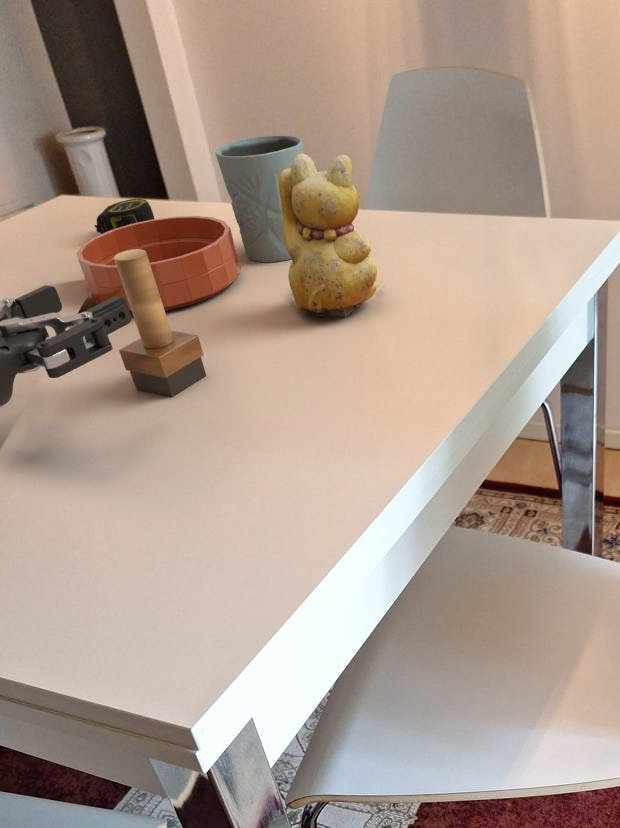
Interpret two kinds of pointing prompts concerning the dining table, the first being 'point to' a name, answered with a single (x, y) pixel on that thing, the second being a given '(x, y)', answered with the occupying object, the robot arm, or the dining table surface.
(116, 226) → the tape measure
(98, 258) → the bowl
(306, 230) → the decorative figurine
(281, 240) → the grey-blue cup
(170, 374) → the wooden rod on block
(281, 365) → the dining table surface
